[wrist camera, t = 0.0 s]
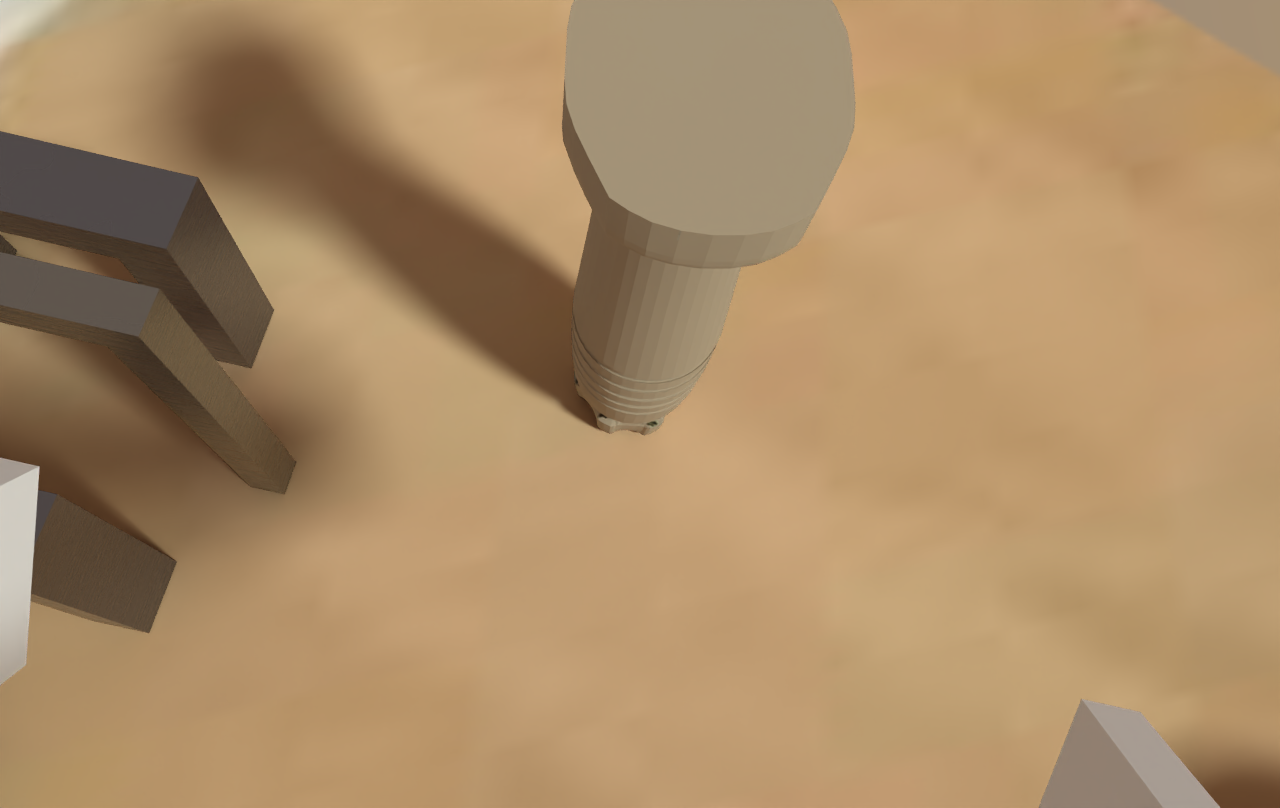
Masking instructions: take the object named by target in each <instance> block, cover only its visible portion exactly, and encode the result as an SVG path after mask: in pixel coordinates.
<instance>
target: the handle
mask: <svg viewBox="0 0 1280 808" xmlns="http://www.w3.org/2000/svg"><path fill="white" fill-rule="evenodd" d="M854 121H855V92H854V78H853V65H852V53H851V48H850V43H849V38H848V33H847V30H846V27H845V25H844V23H843V21H842V19H841V16H840V14H839V12H838V10H837V8H836V6H835V5H834V3H833V1H832V0H574V2H573V4H572V6H571V12H570V17H569V22H568V28H567V43H566V61H565V80H564V99H563V120H562V131H563V142H564V145H565V147H566V150H567V153H568V156H569V158H570V161H571V164H572V167H573V169H574V172H575V174H576V177H577V179H578V181H579V183H580V185H581V188H582V190H583V192H584V194H585V197H586V198H587V200H588V202H589V204H590V206H591V208H592V213H591V218H590V223H589V228H588V232H587V237H586V241H585V246H584V250H583V255H582V259H581V264H580V268H579V273H578V277H577V282H576V286H575V291H574V298H573V310H572V328H571V330H572V357H573V364H574V379H575V387H576V390H577V392H578V395H579V396H580V397H582V398H584V399H585V400H586V401H587V402H588V403H589V405H590V406H591V408H592V409H593V411H594V413H595V416H596V419H597V426H598V428H600V429H601V430H603V431H605V432H607V433H609V434H610V433H613V432H615V431H619V430H632V431H636V432H639V433H641V434H642V435H647V434H650V433H652V432H654V431H656V430H657V429H659V428H660V426H661V425H662V423H663V421H664V417H665V415H667V414H668V413H670V412H671V411H672V410H674V409H675V408H676V407H677V406H678V405H679V404H680V403H681V402H682V401H683V400H684V399H685V398H686V396H687V395H688V394H689V393H690V392H691V390H692V389H693V387H694V385H695V384H696V382H697V381H698V379H699V378H700V376H701V374H702V373H703V371H704V370H705V368H706V366H707V364H708V362H709V360H710V358H711V355H712V353H713V351H714V349H715V347H716V344H717V342H718V340H719V338H720V336H721V333H722V330H723V326H724V323H725V320H726V316H727V313H728V309H729V306H730V303H731V299H732V296H733V293H734V289H735V286H736V282H737V279H738V276H739V272H740V269H741V267H744V266H750V265H757V264H759V263H762V262H765V261H767V260H770V259H772V258H775V257H777V256H779V255H781V254H783V253H785V252H787V251H788V250H790V249H792V248H794V247H795V246H797V244H798V243H799V242H800V241H801V239H802V237H803V235H804V233H805V232H806V230H807V228H808V226H809V224H810V222H811V220H812V218H813V217H814V215H815V213H816V211H817V209H818V207H819V205H820V203H821V201H822V199H823V197H824V195H825V194H826V192H827V190H828V188H829V186H830V184H831V182H832V180H833V178H834V176H835V174H836V172H837V170H838V168H839V166H840V164H841V162H842V159H843V157H844V155H845V153H846V151H847V148H848V145H849V142H850V139H851V136H852V133H853V129H854Z"/></svg>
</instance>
